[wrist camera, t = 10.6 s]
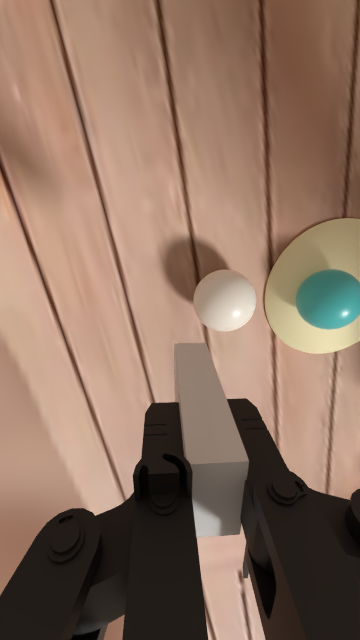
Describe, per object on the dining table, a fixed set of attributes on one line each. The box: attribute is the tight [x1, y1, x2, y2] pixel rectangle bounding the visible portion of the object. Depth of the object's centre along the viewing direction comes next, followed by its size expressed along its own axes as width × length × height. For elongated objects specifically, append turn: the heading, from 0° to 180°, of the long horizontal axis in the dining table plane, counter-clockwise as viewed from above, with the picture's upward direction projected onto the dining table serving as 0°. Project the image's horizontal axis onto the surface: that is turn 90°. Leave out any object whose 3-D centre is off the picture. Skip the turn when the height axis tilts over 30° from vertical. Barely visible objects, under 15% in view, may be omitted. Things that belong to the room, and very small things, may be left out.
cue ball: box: [193, 270, 256, 332], centre depth 23 cm, size 6×6×6 cm
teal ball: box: [296, 269, 360, 330], centre depth 24 cm, size 6×6×6 cm
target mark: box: [264, 218, 360, 354], centre depth 27 cm, size 14×14×1 cm
